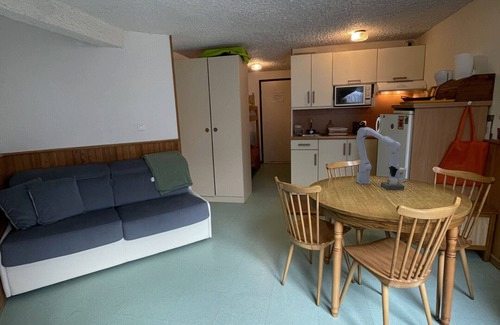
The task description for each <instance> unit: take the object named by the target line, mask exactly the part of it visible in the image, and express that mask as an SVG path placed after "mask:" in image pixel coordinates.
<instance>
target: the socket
mask: <svg viewBox="0 0 500 325" xmlns="http://www.w3.org/2000/svg"><path fill="white" fill-rule="evenodd" d="M380 187H381V188H383V189H385V190H387V191H401V190H402V191H404V190H405V185H404V184H402V183H401V182H397V185H389V181H381V182H380Z"/></svg>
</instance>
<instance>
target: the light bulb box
mask: <svg viewBox="0 0 500 325" xmlns="http://www.w3.org/2000/svg"><path fill="white" fill-rule="evenodd" d="M406 176H407V168H405V167H400V169H398V171H397V172H396V175H395V177H391V173H390V171H389V173H388V179H389V178H396V179H397V182H398V183H404V182H406Z"/></svg>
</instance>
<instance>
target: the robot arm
mask: <svg viewBox="0 0 500 325" xmlns="http://www.w3.org/2000/svg"><path fill="white" fill-rule="evenodd" d="M356 133H357V134H356V138H355V139H356V145H357V149H358V156H359V160H360V161H359V163H358V170H359V171H356V181H355V182H356V183H357V184H359V185H361V184H362V185H363V184H364V185H365V184H366V185H368V184H369V185H370V184H372V182H371V181H370V179H371V170H372V168H373V166H372V164H371V163H370V160H369V158H368V155H367V154H368V153H367V149H366V143H365V140H366V138H367V137H368V136H372V137H374V138H376V139H378V140H379V141H380V143H382V144H383V145H385V146H387V147H388V148H389V149H390V154H389V162H388V164H387V165H388V169H389V172H390V173H391V177H395V175H396V172H397V171H398V169H400V168H401V164H399V161H400V149H401V148H402V144H401V143H400V141H396V140H395V139H392V138H391V137H390V136H387V135H385V136H384V135H382V134H380V133H379V132H378V131H376V130H374V129H373V128H371V127H368V126H366V127H360V128H359V129H358V130H357V132H356Z"/></svg>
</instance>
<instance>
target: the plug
mask: <svg viewBox="0 0 500 325" xmlns="http://www.w3.org/2000/svg"><path fill="white" fill-rule="evenodd" d="M386 182H389V185H397V179H396V178H389V177H388V179H387V180H386Z"/></svg>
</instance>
